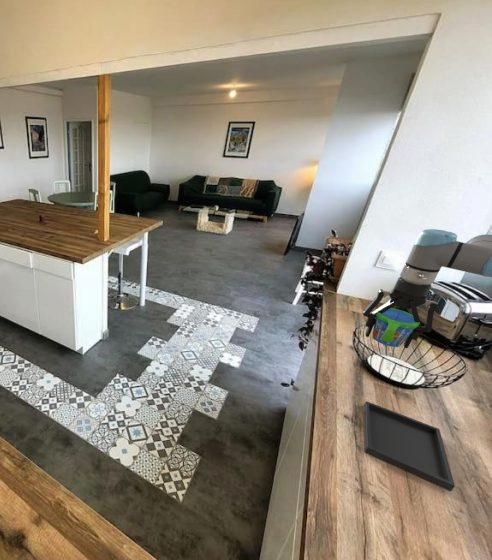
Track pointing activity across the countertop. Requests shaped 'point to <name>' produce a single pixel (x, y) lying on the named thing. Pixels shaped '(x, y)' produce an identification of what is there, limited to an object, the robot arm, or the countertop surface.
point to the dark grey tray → (406, 444)
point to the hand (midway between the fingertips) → (385, 340)
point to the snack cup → (393, 327)
